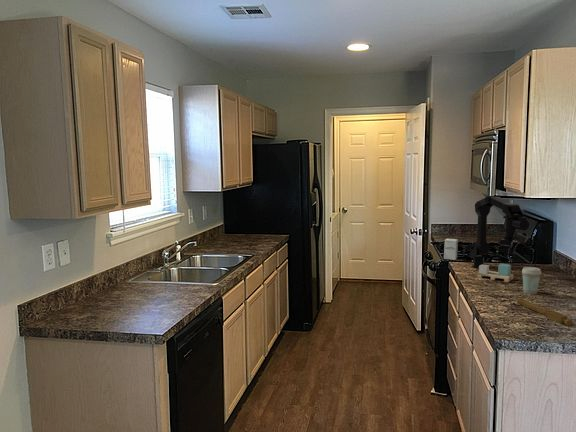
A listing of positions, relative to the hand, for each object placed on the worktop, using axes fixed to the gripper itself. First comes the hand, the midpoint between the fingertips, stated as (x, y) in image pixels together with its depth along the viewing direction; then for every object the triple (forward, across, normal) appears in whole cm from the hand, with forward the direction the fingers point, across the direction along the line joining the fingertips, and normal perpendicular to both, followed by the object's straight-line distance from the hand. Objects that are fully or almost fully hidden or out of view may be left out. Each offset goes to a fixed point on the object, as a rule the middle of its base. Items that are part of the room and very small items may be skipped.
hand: (509, 255), depth 258 cm
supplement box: (+13, +27, +44) cm, 53 cm away
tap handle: (+13, -52, -31) cm, 62 cm away
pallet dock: (+12, -5, +5) cm, 14 cm away
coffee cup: (+12, -22, -17) cm, 30 cm away
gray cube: (+10, -7, +11) cm, 16 cm away
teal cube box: (+10, -3, +1) cm, 10 cm away
